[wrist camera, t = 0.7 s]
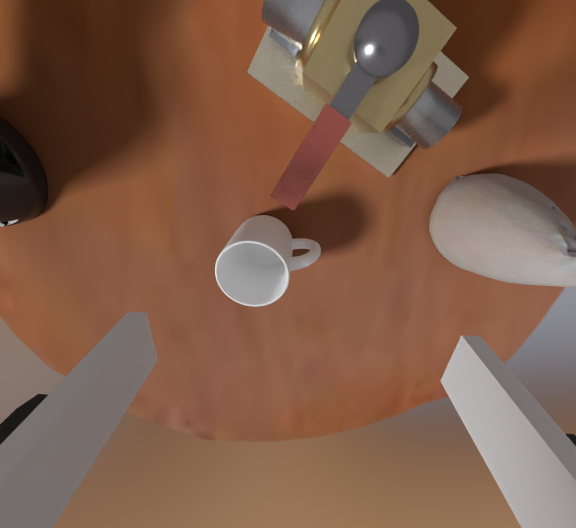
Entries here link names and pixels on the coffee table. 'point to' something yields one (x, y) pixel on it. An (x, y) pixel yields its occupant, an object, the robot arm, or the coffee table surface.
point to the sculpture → (504, 231)
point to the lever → (352, 91)
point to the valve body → (336, 65)
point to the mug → (261, 261)
